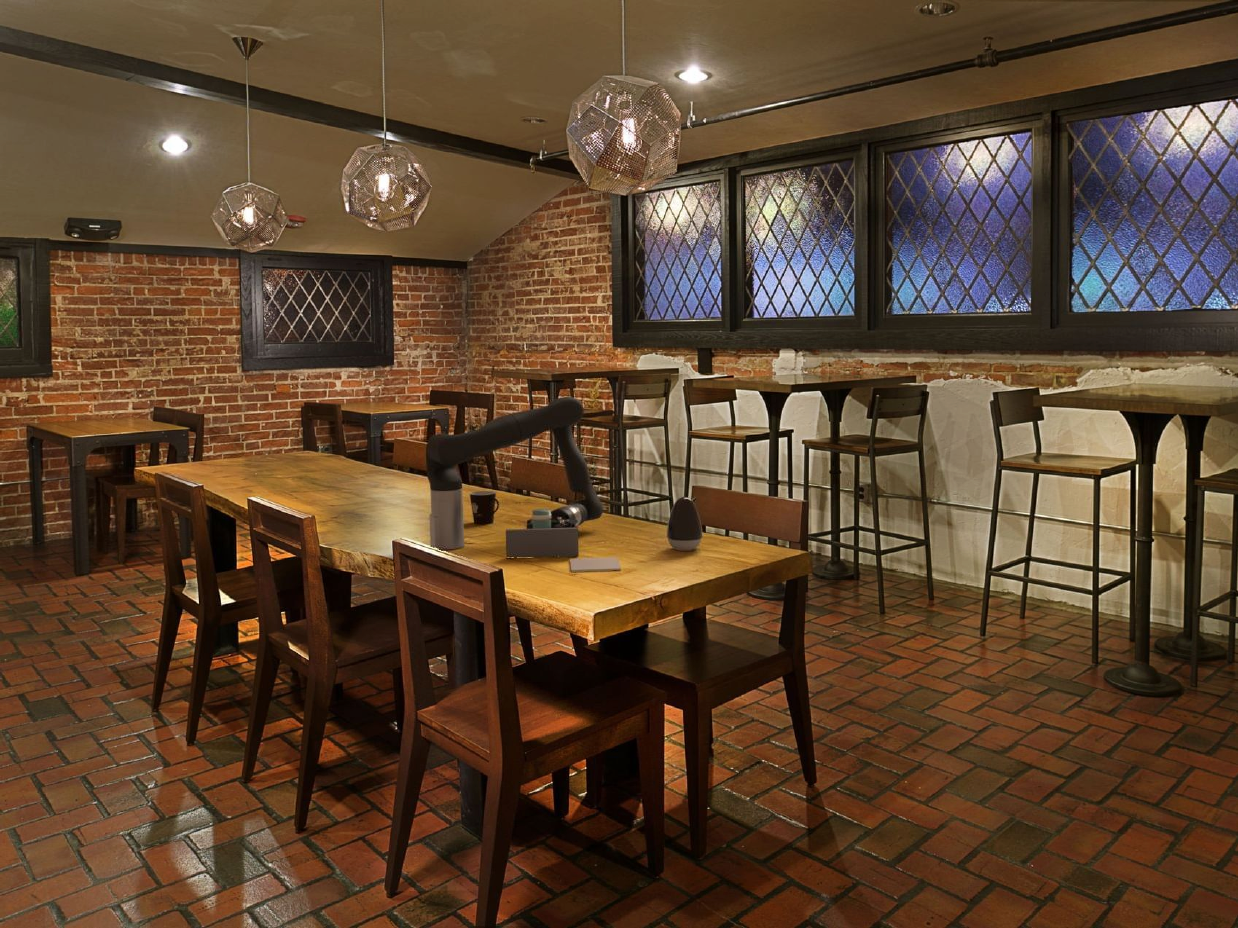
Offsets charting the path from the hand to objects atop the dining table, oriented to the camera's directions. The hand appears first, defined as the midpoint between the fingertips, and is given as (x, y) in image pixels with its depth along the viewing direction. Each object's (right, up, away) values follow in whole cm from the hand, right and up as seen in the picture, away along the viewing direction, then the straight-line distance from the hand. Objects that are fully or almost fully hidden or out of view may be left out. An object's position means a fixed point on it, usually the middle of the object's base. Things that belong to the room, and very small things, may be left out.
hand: (541, 529), depth 283 cm
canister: (0, -7, +1) cm, 7 cm away
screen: (+1, -7, -6) cm, 10 cm away
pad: (+16, -9, -17) cm, 24 cm away
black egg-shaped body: (+41, -6, +2) cm, 41 cm away
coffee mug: (-22, -1, +45) cm, 50 cm away
